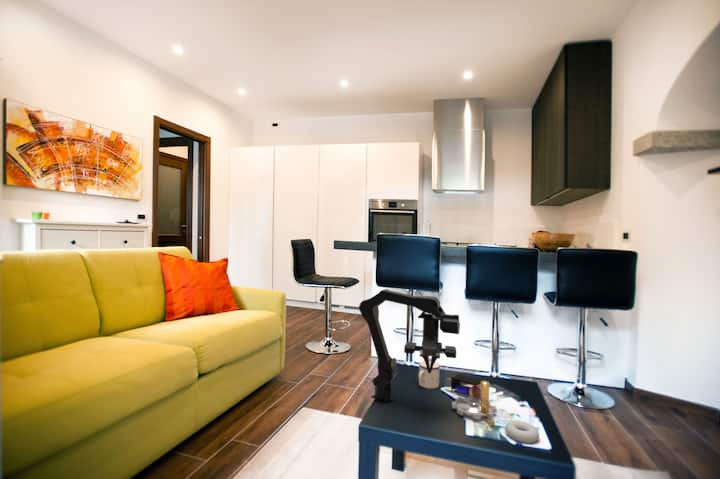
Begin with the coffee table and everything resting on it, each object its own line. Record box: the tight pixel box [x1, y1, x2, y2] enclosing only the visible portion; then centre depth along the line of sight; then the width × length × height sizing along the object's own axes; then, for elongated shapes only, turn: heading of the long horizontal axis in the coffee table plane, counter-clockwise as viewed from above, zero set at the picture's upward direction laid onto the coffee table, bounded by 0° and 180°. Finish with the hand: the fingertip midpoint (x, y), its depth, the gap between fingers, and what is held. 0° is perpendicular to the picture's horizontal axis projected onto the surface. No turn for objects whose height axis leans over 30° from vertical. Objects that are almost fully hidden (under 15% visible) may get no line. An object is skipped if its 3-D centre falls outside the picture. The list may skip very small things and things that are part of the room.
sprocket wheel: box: [451, 380, 498, 420], centre depth 132 cm, size 15×15×12 cm
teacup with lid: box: [418, 357, 441, 390], centre depth 156 cm, size 12×9×12 cm
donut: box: [504, 420, 540, 444], centre depth 117 cm, size 10×4×10 cm
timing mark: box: [484, 418, 496, 426], centre depth 124 cm, size 2×2×1 cm
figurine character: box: [443, 373, 485, 400], centre depth 149 cm, size 7×8×15 cm
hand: (429, 372), depth 135 cm, fingers closed
